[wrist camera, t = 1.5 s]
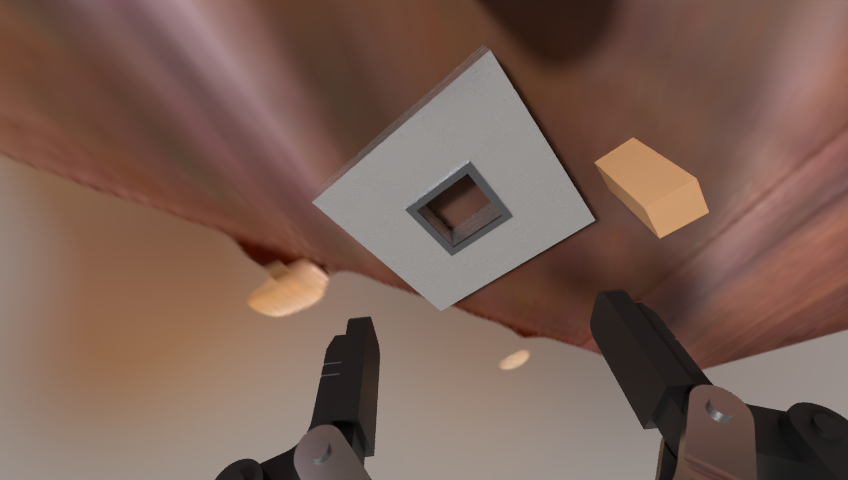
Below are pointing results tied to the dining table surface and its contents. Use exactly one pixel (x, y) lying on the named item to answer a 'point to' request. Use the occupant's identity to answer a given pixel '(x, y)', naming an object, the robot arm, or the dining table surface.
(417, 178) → the slab with square hole
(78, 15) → the dining table surface
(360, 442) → the robot arm
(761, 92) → the dining table surface
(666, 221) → the tan wooden block
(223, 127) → the dining table surface
